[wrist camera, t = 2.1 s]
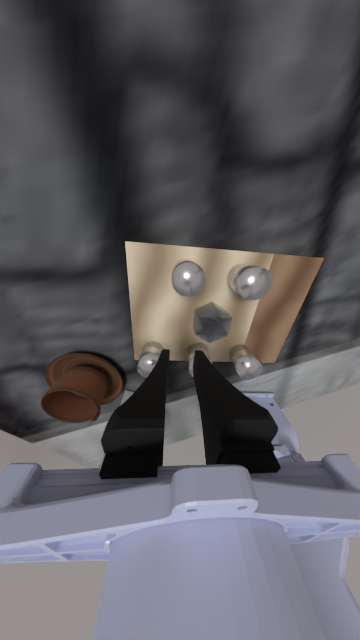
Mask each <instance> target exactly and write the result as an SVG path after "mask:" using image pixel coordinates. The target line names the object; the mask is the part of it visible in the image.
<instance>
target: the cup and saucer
mask: <svg viewBox="0 0 360 640" xmlns="http://www.w3.org/2000/svg"><path fill="white" fill-rule="evenodd" d="M45 377H46V381H47V383H48V385H49V387H50V389H49V390H48V391H47V393H46V394H45V395H44V396H43V397H42V399H41V407H42V409H43V410H44V411H45V412H46V413H47V414H48V415H49V416H51V417H53V418H55V419H57V420H60V421H64V422H69V423H82V422H86V421H91V422H93V421H96V420H97V419H98V417H99V415H100V410H101V407H100V405H104V404H107V403H110V402H112V401H113V400H115V399H116V398H117V397H118V396H119V395H120V394H121V392H122V388H123V380H122V377H121V374H120V373H119V371H118V370H117V369H116V368H115V367H114V366H113V365H112V364H111V363H110V362H108V361H106V360H105V359H103V358H101V357H98V356H95V355H91V354H85V353H70V354H65V355H62V356H60V357H58V358H56V359H55V360H53V361H52V362H51V363H50V364H49V365H48V366H47V369H46V372H45Z"/></svg>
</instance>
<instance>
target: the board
mask: <svg viewBox="0 0 360 640" xmlns="http://www.w3.org/2000/svg"><path fill="white" fill-rule="evenodd" d="M125 245H126V257H127V270H128V282H129V295H130V307H131V319H132V332H133V344H134V357H135V360H139V359H140V355H141V352H142V348H143V346H144V345H145V344H146V343H147V342H151V341H155V342H158V343H160V344H161V345H162V346H163V347H164V349H170V359H169V360H175V361H188V359H187V348H188V347H189V346H190V345H192V344H194V343H202V344H204V345H205V346H206V347H207V349H208V352H209V355H210V358H211V361H218V362H232V361H231V359H230V357H229V351H230V349H231V348H232V347H234V346H235V345H239V344H243V345H246V346H247V347H248V348H249V349H250V351H251V352H252V353H253V355H254V356H255V357H256V359H257V360H258V361H259V362H261V363H275V361H276V358H277V356H278V354H279V352H280V350H281V348H282V346H283V344H284V342H285V339H286V337H287V335H288V333H289V331H290V329H291V327H292V325H293V323H294V320H295V318H296V316H297V314H298V312H299V310H300V308H301V306H302V304H303V301H304V299H305V297H306V295H307V293H308V291H309V289H310V287H311V284H312V282H313V280H314V278H315V276H316V274H317V272H318V270H319V268H320V265H321V263H322V261H323V259H324V258H317V257H305V256H293V255H281V254H269V253H257V252H245V251H233V250H222V249H210V248H198V247H186V246H174V245H162V244H150V243H138V242H126V241H125ZM182 259H190V260H192V261H194V262H195V263H196V264H198V265H199V266H200V267H201V268H202V269H203V271H204V273H205V277H206V281H205V285H204V287H203V289H202V290H201V291H200V292H199V293H198V294H197V295H195V296H192V297H184V296H181V295H179V294H178V293H177V292H176V291H175V290H174V288H173V286H172V268H173V266H174V265H175V263H176V262H178V261H179V260H182ZM240 263H245V264H249V265H253V266H257V267H261V268H265V269H267V270H268V271H269V272H270V273H271V275H272V286H271V288H270V290H269V291H268V293H267V294H266V295H265V296H263V297H262V298H260V299H258V300H253V301H251V300H247V299H245V298H243V297H242V296H241V295H239V294H238V293H236V292H235V291H234V290H232V289H231V288H230V287H229V286H228V284H227V275H228V272H229V271H230V269H231V268H232V267H233V266H235V265H237V264H240ZM210 302H214V303H215V304H217V305H218V306H220V307H221V308H223V309H224V310H225V311H227V313H228V314H229V315H230V316H231V317H232V322H231V326H230V330H229V334H228V336H226V337H224V338H221V339H219V340H216V341H214V342H212V343H209V342H207V341H205V340H204V339H202V338H200V337H198V336H197V335H195V333H194V329H193V319H194V312H195V309H197V308H199V307H201V306H203V305H206V304H208V303H210Z"/></svg>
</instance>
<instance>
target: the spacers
mask: <svg viewBox="0 0 360 640" xmlns="http://www.w3.org/2000/svg"><path fill="white" fill-rule="evenodd" d="M205 281H206V277H205V273H204V271H203V269H202V268H201V267H200V266H199V265H198V264H196V263H195V262H194V261H192V260H190V259H182V260H179V261H178V262H176V263H175V265H174V266H173V268H172V286H173V288H174V290H175V291H176V292H177V293H178V294H179V295H181V296H184V297H192V296H195V295H197V294H198V293H199V292H200V291H201V290H202V289H203V287H204V285H205ZM227 284H228V286H229V287H230V288H231V289H232V290H234V291H235V292H236V293H238V294H239V295H241V296H242V297H243V298H245V299H247V300H251V301H253V300H258V299H260V298H262V297H263V296H265V295H266V294H267V293H268V291H269V290H270V288H271V286H272V275H271V273H270V272H269V271H268V270H267V269H265V268H261V267H257V266H253V265H249V264H245V263H240V264H237V265H235V266H233V267H232V268H231V269H230V271H229V272H228V275H227ZM163 349H164V347H163V346H162V345H161V344H160V343H158V342H155V341H151V342H147V343H146V344H145V345H144V346H143V348H142V352H141V355H140V359H139V362H138V366H137V371H138V373H139V374H140V375H141V376H143V377H145V378H147V377H148V375H149V374H150V372H151V371H152V369H153V368H154V366H155V364H156V362H157V361H158V359H159V356H160V354H161V350H163ZM195 350H202V351H203V352H204V354H205V355H206V357H207V358H208V359H209V361H210V362H211V363H212V361H211V358H210V355H209V352H208V349H207V347H206V346H205V345H204V344H202V343H194V344H192V345H190V346H189V347H188V348H187V359H188V366H189V373H190V375H191V376H192V377H193V361H194V354H195ZM229 357H230V359H231V361H232V363H233V365H234V367H235V369H236V371H237V373H238V375H239V377H240V378H242V379H246V380H249V379H253V378H255V377H257V376H258V375H259V374H260V373H261V372H262V365H261V364H260V363H259V361H258V360H257V359H256V357H255V356H254V355H253V353H252V352H251V351H250V349H249V348H248V347H247V346H246V345H243V344H239V345H235V346H234V347H232V348H231V349H230V351H229Z"/></svg>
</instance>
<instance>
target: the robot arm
mask: <svg viewBox="0 0 360 640" xmlns="http://www.w3.org/2000/svg"><path fill="white" fill-rule="evenodd" d="M169 359H170V349H163V350H161V354H160V356H159V359H158V361H157V362H156V364H155V366H154V368H153V369H152V371H151V372H150V374H149V375H148V377H147V378H146V379H145V381H144V382H143V383H142V384H141V386H140V387H139V388H138V389H137V390H136V391H135V392H134V393H133V394H132V395H131V396H130V397H129V398H128V399H127V400H126V401H125V402H124V403H123V404H122V405H120V406H119V407H118V408H117V409H116V410H115V411H114V412H113V414H112V416H111V417H110V419H109V421H108V423H107V425H106V428H105V431H104V433H103V436H102V439H101V443H102V447H103V450H104V453H105V457H104V460H103V463H102V466H101V468H94V469H65V470H42V467H41V466H40V465H39V464H36V463H11V464H9V465H8V466H7V468H6V469H5V470H4V472H3V473H2V474H1V476H0V563H21V562H52V561H54V562H56V561H99V560H101V561H102V560H108V564H107V569H106V574H105V578H104V583H103V589H102V593H101V598H100V603H99V608H98V613H97V618H96V623H95V628H94V633H93V638H92V640H360V607H359V605H358V603H357V602H356V600H355V598H354V596H353V594H352V592H351V590H350V588H349V586H348V584H347V583H346V581H345V569H346V563H347V558H348V552H349V546H350V542H349V539H348V537H352V536H360V468H359V467H358V466H357V465H356V463H355V462H354V461H353V460H352V459H351V458H350V456H349V455H348V454H329V455H327V456H325V457H323V458H322V460H321V461H308V462H305V460H304V459H303V457H302V456H301V454H299V453H298V447H299V444H298V439H297V436H296V434H295V431H294V429H293V427H292V426H291V424H290V423H289V421H288V420H287V418H286V417H285V415H284V414H283V412H282V411H281V409H280V408H279V406H278V405H277V403H276V402H275V400H274V398H273V397H274V394H273V393H247V392H240V391H239V390H238V389H236V388H235V387H234V386H233V385H232V384H230V383H229V382H228V381H227V380H226V379H225V378H224V377H223V376H222V375H221V374H220V373H219V372H218V370H217V369H216V368H215V367H214V366H213V364H212V363H211V362H210V361H209V359H208V358H207V357H206V355H205V354H204V352H203V351H202V350H195V354H194V361H193V377H194V382H195V387H196V391H197V396H198V400H199V405H200V412H201V419H202V428H203V437H204V446H205V457H206V465H186V466H162V465H163V445H164V423H165V401H166V393H167V385H168V377H169ZM293 456H294V457H293ZM294 458H295V459H294ZM295 460H296V461H295Z"/></svg>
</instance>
